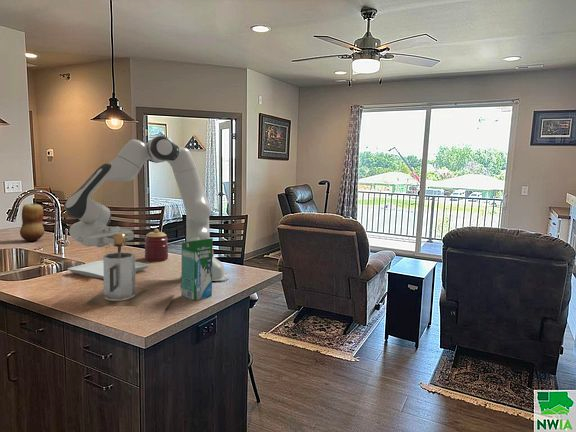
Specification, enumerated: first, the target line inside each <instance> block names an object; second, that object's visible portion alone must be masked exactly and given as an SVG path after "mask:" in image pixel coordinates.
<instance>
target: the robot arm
mask: <svg viewBox="0 0 576 432" xmlns="http://www.w3.org/2000/svg"><path fill="white" fill-rule="evenodd" d="M147 161H148V162H151V163H155V164H157V163H158V164H159V163H164V162H166V163H168V164H169V165H170V168H171V169H172V172H173V176H174V179H175V181H176V184H177V187H178V190H179V194H180V197H181V199H182V202H183V205H184V209H185V215H186V216H185V217H186V219H185V220H186V222H185V226H186V228H185V229H186V235H185V236H186V238H185V242H190V239H191V238H197V237H199V240H203V239H210V238H211V237H210V236H211V235H210V234H211V233H210V216H211V212H212V208H211V206H210V202H209V199H208V196H207V194H206V191H205V188H204V185H203V183H202V182H203V181H202V179H201V175H200V173H199V170H198V167H197V165H196V162H195V159H194V156H193V155H192V153H191V151H190V150H189V149H188V148H187V147H185V146H184V147H182V146H181V147H180V146H178V144H176V143H175V142H174V141H173V140H172V139H171V138H170V137H168V136H165V135H159V136H156V137H153V138H152V139H150V140H149V141H148V142H146V143H145V142H143V141H141V140H138V139H134V138H133V139H130V140H129V141H127V143H126V144H125V145H124V146H123V147H122V148H121V150H120V151H119V152H118V154H117V155H116V156H115V158H114V159H113V160H111V161H110V162H109V163H104V164H102V165H100V166H99V167H98V168H97V169H96V170H95V171H94V172H93V173H92V174H91V175H90V176H89V177H88V178H87V180H86V181H85V182H84V183H83V184H82V185H81V186H80V187H79V188H78V189H77V191H75V192H74V193H72V194H71V196H69V197H68V198H67V200H66V201H65V204H64V209H65V212H66V214H67V216H68V217H71V218H74V219H77V220H79V221H78V222H75V223H73V224H72V225H71V226H70V227H69V230H68V232H69V235H70V238H71V239H72V240H73V241H75V242H77V243H79V244H81V245H82V246H86V247H96V248H103V247H104V248H105V247H106V246H108V245H110V244H111V245H112V244H113V243H116V239H114V238H113V234H118V233H122V234H125V242H129V241H132V240H134V237H135V235H134V233H135V232H134V231H133V230H132V229H131V230H130V229H128V228H124V227H123V228H120V226H117V225H110V224H111V223H110V222H111V220H112V212H111V210H110V208H109V207H107V206H105V205H104V204H102V203H100V202H98V201H96V200H94V199H93V198H91V196H92V195H93V194H95V193H96V191H97V190H98V189H99V187H100V186H101V185H103V183H104V182H107V181H115V182H121V183H123V182H124V183H126V182H130V181H133V180H134V179H135V178H136V177H137V176H138V174H139V173H140V171H141V170H142V168H143V166H144V164H145V163H146V162H147ZM214 254H215V253H214V249H213V250H212V281H221V282H225V281H224V280H226V279H228V277H229V278H230V273H228V272H226V271H225V266H224V264H223V262H221V261H220V260H219V259H218V258H216V257H215V256H214ZM228 280H229V279H228ZM226 281H227V280H226Z"/></svg>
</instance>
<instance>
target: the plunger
mask: <svg viewBox="0 0 576 432" xmlns="http://www.w3.org/2000/svg"><path fill="white" fill-rule="evenodd" d="M113 238H114V239H116V243H113V245H112V246H113V247H117V253H118V258H121V253H122V247H125V246H126V241H125V234H122V233H118V234H113Z"/></svg>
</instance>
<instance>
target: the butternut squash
mask: <svg viewBox="0 0 576 432" xmlns="http://www.w3.org/2000/svg"><path fill="white" fill-rule="evenodd" d="M43 207H44V206H42V204H39V203H38V204H37V203H26V204H24V205H23V207H22V210H21V221H22V224H21V228H20V230H19V234H20V237H21V239H23V240H24V241H26V242H36V241H39V239H41V238H42V237H43V236H44V235H45V227H44V225H43V219H44V208H43Z"/></svg>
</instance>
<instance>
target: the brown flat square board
mask: <svg viewBox="0 0 576 432" xmlns="http://www.w3.org/2000/svg"><path fill="white" fill-rule="evenodd" d="M152 291H153V289H147V288H146V289H144V288H143V289H142V288H140V289H139V288H135V297H134V298H132V299H130V300H126V301H119V302H112V301H107V300H105V299H104V288H103V289H102V290H100V291H99V292H98V293H96V294H95V295H94V296H93V297H92V298H90V299H89V300H87V301H86V302H85V303H83V306H90V307H91V306H93V307H94V306H95V307H96V306H101V307H102V306H103V307H104V306H105V307H106V306H108V307H109V306H111V307H139V306H140V305H141V303H142V302H143V301H144V300H145V299H146V298H147V297H148V296H149V294H150V293H151V292H152Z"/></svg>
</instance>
